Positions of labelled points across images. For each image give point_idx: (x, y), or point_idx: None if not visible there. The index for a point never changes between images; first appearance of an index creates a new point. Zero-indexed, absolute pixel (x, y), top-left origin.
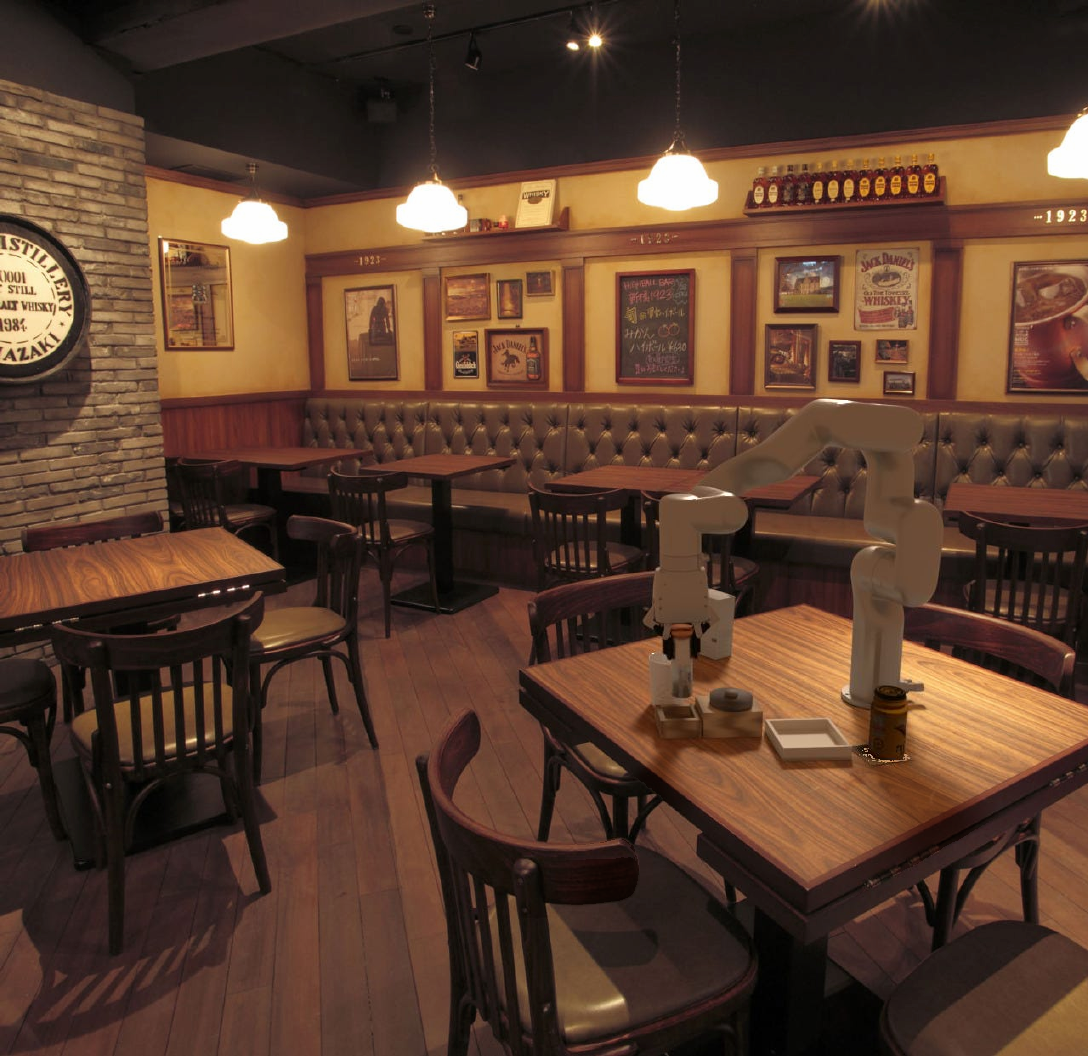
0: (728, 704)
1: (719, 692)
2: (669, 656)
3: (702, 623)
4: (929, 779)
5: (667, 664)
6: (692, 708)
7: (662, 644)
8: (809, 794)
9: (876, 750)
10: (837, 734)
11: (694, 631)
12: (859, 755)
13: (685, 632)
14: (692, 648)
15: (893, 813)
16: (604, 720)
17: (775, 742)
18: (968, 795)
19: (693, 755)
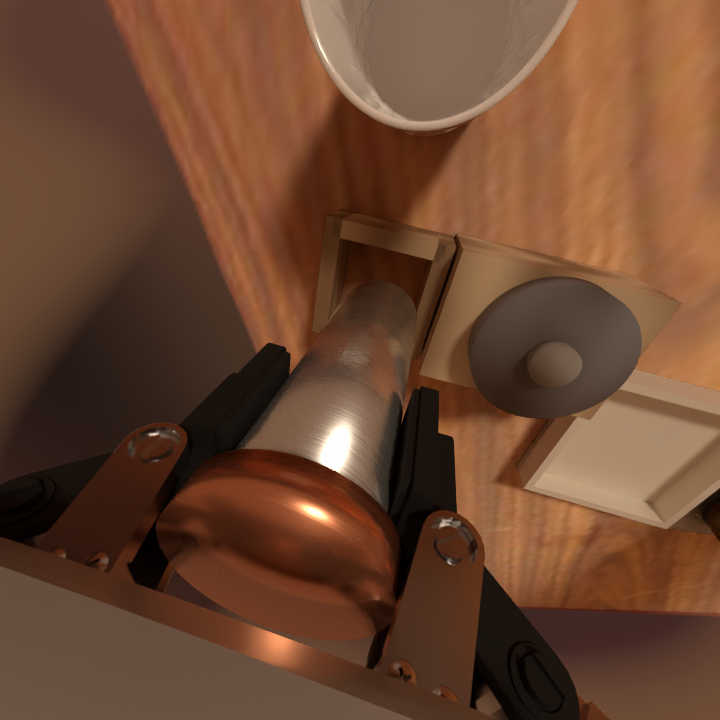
0: (495, 403)
1: (528, 325)
2: None
3: (494, 684)
4: (703, 575)
5: (376, 119)
6: (430, 281)
7: (208, 397)
8: (480, 534)
9: (714, 531)
10: (707, 482)
11: (403, 570)
12: None
13: (283, 627)
14: (396, 457)
15: (549, 589)
16: (203, 155)
17: (547, 439)
18: (700, 609)
19: None
